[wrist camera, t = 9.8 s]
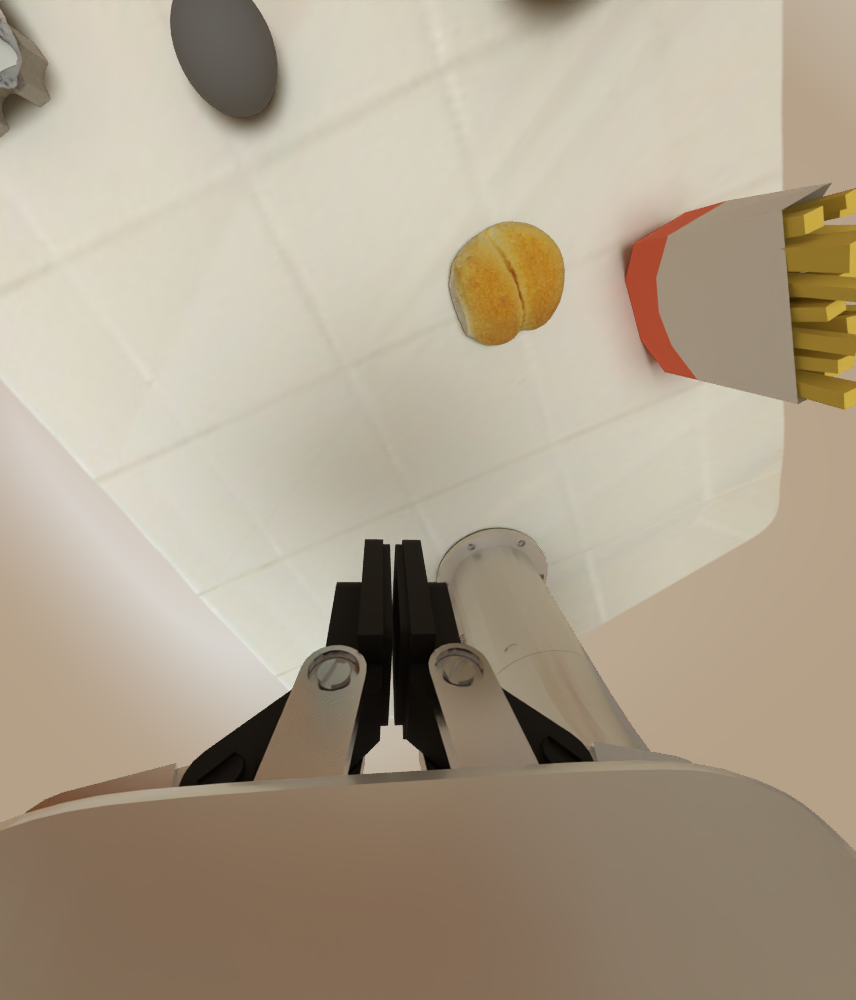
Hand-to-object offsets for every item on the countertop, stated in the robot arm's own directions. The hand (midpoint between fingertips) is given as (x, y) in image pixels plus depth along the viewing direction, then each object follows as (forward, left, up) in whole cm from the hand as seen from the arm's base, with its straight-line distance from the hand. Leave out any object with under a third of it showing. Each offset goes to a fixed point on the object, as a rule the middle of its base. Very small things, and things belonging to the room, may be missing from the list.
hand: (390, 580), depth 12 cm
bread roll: (+13, -5, -27) cm, 30 cm away
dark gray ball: (+14, +17, -24) cm, 32 cm away
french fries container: (+19, -17, -27) cm, 37 cm away
